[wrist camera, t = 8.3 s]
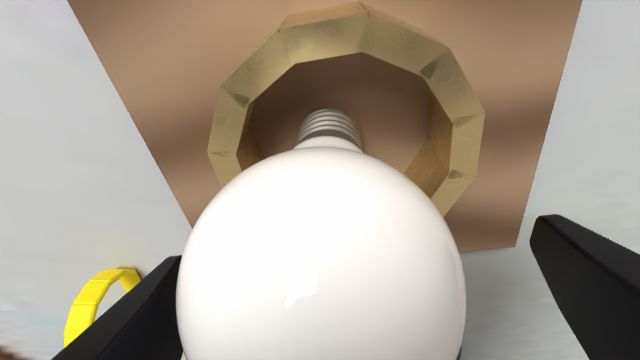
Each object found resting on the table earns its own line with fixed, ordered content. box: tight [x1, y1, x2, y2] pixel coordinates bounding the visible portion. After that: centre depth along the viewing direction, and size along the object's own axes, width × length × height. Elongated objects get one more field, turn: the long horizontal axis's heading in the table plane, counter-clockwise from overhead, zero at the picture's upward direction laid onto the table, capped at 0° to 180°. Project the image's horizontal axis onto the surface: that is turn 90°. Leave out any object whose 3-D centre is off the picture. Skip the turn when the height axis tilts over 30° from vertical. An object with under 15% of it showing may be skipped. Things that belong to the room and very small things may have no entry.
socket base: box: [67, 0, 582, 253], centre depth 14 cm, size 18×18×1 cm
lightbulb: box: [176, 109, 467, 360], centre depth 9 cm, size 6×6×11 cm
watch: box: [64, 269, 141, 348], centre depth 20 cm, size 6×3×6 cm, turn 1°
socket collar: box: [207, 2, 485, 217], centre depth 13 cm, size 10×10×3 cm
